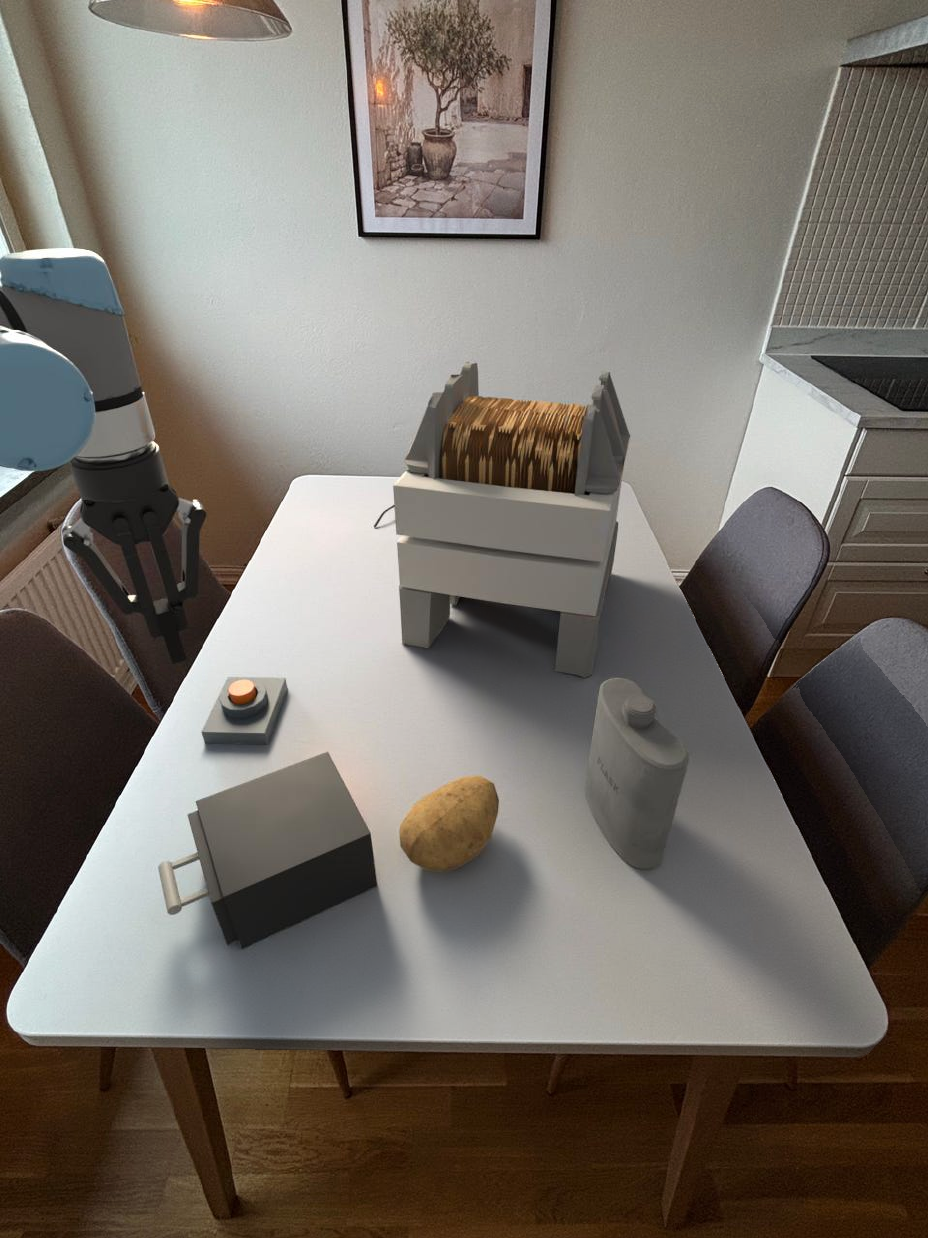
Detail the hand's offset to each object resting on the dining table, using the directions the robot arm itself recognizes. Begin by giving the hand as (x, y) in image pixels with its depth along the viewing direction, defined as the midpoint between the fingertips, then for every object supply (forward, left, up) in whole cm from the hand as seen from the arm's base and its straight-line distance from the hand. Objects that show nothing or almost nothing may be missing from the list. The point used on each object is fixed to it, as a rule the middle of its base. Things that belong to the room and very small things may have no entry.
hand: (177, 655), depth 74 cm
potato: (+23, -20, -25) cm, 39 cm away
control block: (+7, +15, -24) cm, 29 cm away
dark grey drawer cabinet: (+5, -14, -24) cm, 29 cm away
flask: (+43, -27, -25) cm, 56 cm away
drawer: (+1, -14, -24) cm, 27 cm away
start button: (+7, +15, -21) cm, 27 cm away
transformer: (+57, +20, -25) cm, 65 cm away
